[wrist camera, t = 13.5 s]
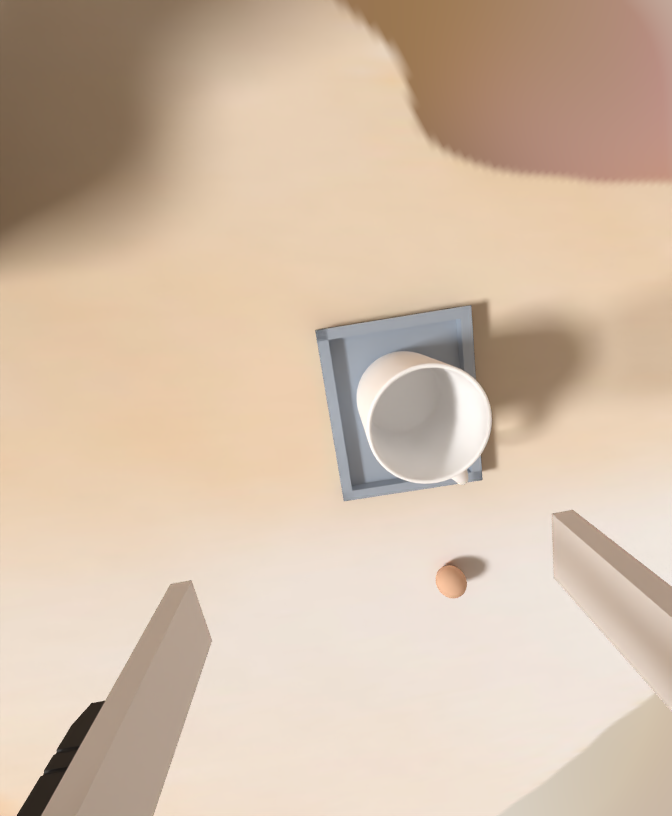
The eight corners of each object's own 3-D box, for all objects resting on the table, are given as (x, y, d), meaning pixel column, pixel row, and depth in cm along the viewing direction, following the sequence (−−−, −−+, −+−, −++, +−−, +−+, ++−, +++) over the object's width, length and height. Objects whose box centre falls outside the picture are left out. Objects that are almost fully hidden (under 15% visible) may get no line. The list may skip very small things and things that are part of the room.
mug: (404, 478, 37) (434, 540, 27) (337, 383, 34) (341, 411, 24) (477, 431, 36) (537, 477, 26) (413, 331, 33) (452, 336, 23)
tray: (316, 329, 34) (315, 330, 32) (463, 306, 34) (471, 305, 32) (343, 492, 38) (343, 501, 36) (475, 472, 38) (482, 480, 36)
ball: (430, 561, 40) (439, 581, 37) (459, 557, 40) (470, 577, 37) (433, 585, 41) (442, 607, 38) (461, 581, 41) (472, 602, 38)
